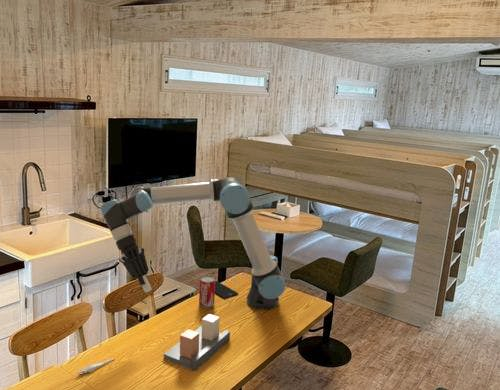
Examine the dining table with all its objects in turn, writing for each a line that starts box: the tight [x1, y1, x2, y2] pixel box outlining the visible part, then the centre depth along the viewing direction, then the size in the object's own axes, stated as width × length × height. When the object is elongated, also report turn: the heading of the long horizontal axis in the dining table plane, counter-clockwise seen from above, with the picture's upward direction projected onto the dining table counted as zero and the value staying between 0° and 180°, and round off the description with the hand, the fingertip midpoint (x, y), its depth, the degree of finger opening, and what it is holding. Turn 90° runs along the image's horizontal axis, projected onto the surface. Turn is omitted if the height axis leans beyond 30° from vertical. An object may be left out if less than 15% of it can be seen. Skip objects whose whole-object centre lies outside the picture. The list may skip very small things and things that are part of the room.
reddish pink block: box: [179, 328, 199, 359], centre depth 167 cm, size 5×5×8 cm
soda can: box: [198, 275, 216, 309], centre depth 209 cm, size 7×7×13 cm
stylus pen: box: [76, 358, 115, 375], centre depth 160 cm, size 15×3×2 cm, turn 138°
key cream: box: [201, 313, 221, 341], centre depth 179 cm, size 5×5×8 cm
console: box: [163, 325, 231, 372], centre depth 174 cm, size 14×24×4 cm, turn 152°
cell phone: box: [214, 280, 239, 300], centre depth 226 cm, size 9×18×1 cm, turn 41°
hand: (148, 291), depth 181 cm, fingers closed
